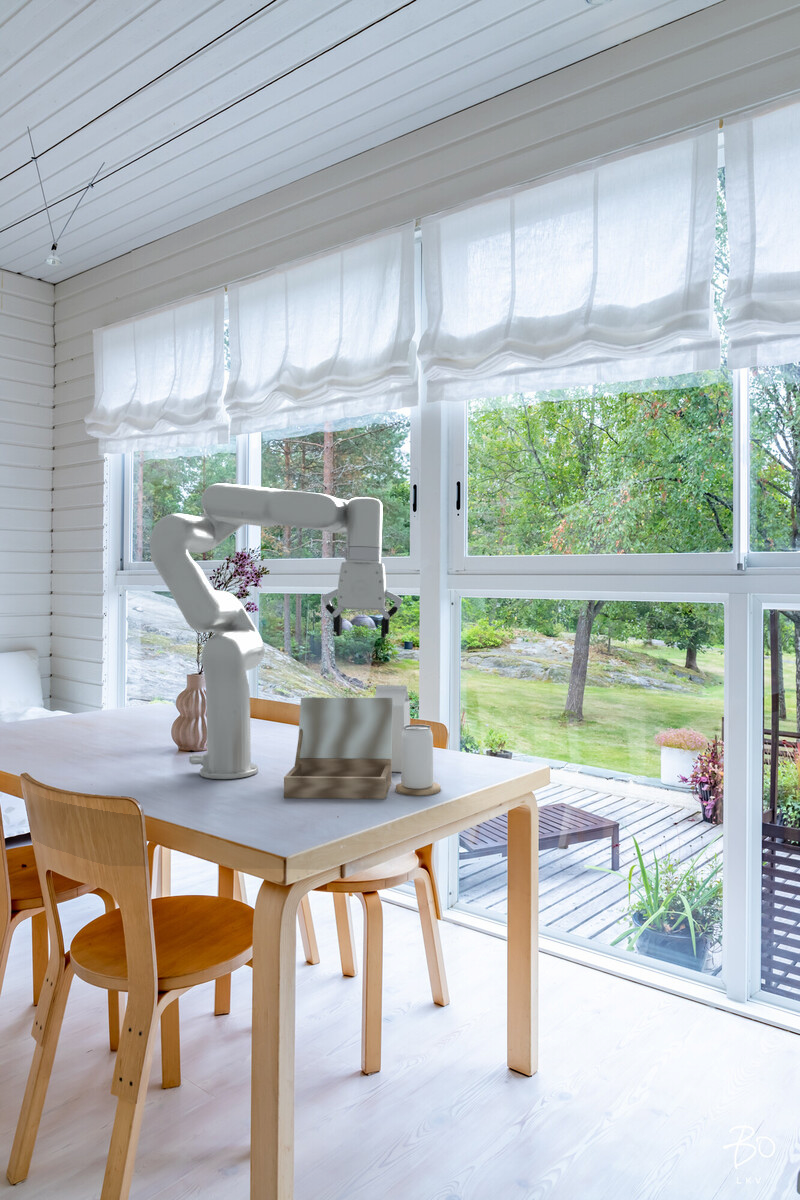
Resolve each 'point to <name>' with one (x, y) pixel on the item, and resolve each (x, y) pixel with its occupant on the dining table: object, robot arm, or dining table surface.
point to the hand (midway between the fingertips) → (361, 636)
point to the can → (417, 757)
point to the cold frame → (342, 749)
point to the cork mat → (428, 791)
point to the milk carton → (396, 717)
